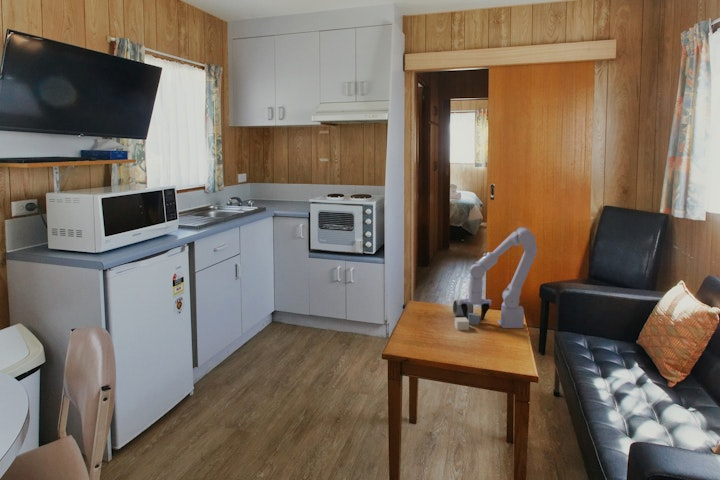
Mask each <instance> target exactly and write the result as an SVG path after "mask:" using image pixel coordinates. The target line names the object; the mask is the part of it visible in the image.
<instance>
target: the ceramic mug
mask: <svg viewBox="0 0 720 480" xmlns="http://www.w3.org/2000/svg"><path fill="white" fill-rule="evenodd" d="M458 300H459V299H454V300H453V304H452V314H453V316H454V318H458V317H464V315H463V311H462V308H461V306H460V305H459V304H458ZM467 307H468V310H467V317H468V313H474V305H467Z"/></svg>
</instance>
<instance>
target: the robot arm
mask: <svg viewBox="0 0 720 480" xmlns="http://www.w3.org/2000/svg"><path fill="white" fill-rule="evenodd" d="M520 244H521V246H522V248H523V251H524V252H523V254H522V256H521V258H520V259H519V260H520V261H519V263H518V266H517V268H516V270H515V271H514V275H513V277H512V279H511V281H510V283H509V284H508V285H507V287H506V288H505V289H504V290H503V291H502V293H501V294H502V295H501V297H502V300H503V302H502V303H501V307H500V308H501V310H500V319H499V320H497V321H496V322H497V323H498V324H499V326H500V327H501V328H502V329H523V328H525V327H524V319H525V318H524V317H525V310H524V307H523V306H522V305H520V296H521V294H522V288H523V286H524V284H525V281H526V279H527V276H528V274H529V273H530V270H531V267H532V265H533V263H534V261H535V259H536V257H537V254H538V248H537V247H538V246H537V242H536V236H535V235H534V234H533V232H531V231H530V229H529V228H527V227H525V226H519V227H518V228H517V229H516V230H514V231H513V232H512V233H511V234H509V235H508V236H507V238H505V239H504V240H503V241H502V242H501V243H500V244H499V245H498V246H497V247H496V248H495V249H494V250H493V251H487V253H486V252H484V253H483V256H482V257H480V258H479V259H478V260H476V261H475V263H474V264H472V265H470V268H469V270H468V271H469V273H470V275H469V283H468V284H469V285H468V298H463V299H457V300H458V304H459V305H460V306H461V308H462V311H463V315H464V316H463V317H466V318H467V319H468V316H467V310H468V307H467V305H473V306H475V305H480V311H481V312H480V320H481V321H484V320H485V317H486V314H487V312H488V311H489V309H490V306H492V301H493V300H491V299H486V298H482V297H483V278H484V276H485V274H486V273H485V272H488V271H489V270H490V269H491V268H492V267H493V266H494V265H496V264H497V263H498V258H499V257H500V256H502V255H503V254H504V253H505V252H507V251H508V250H509V249H510V248H511V247H517V246H520Z"/></svg>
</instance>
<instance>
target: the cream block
mask: <svg viewBox="0 0 720 480" xmlns="http://www.w3.org/2000/svg"><path fill="white" fill-rule="evenodd" d="M469 326H470V323H469V321H468V317H467V318H466V317H464V316H459V317H454V324H453V327H455V329H456V331H468V330H469V329H470V328H469Z"/></svg>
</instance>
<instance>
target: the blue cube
mask: <svg viewBox="0 0 720 480" xmlns="http://www.w3.org/2000/svg"><path fill="white" fill-rule="evenodd" d="M467 319H468V321H469V326H470V325H471V326H472V325H475V326H476V325H480V320H481V315H480V314H478V312H473V313H468V316H467Z"/></svg>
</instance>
